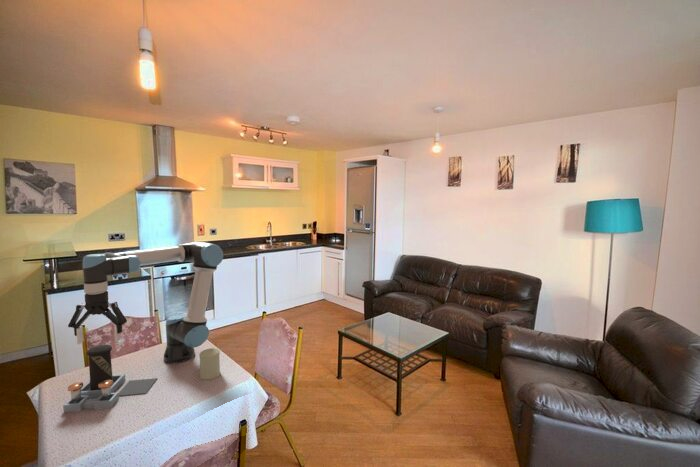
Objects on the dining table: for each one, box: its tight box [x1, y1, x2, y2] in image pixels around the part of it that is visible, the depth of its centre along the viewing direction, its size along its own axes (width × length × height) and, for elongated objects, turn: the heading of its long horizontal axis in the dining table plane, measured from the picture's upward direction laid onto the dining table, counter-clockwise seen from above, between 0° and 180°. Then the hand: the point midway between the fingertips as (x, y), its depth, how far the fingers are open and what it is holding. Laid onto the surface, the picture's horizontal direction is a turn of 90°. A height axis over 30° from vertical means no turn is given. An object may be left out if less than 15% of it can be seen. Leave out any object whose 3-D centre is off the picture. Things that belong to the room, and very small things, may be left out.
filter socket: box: [81, 373, 126, 399], centre depth 142 cm, size 13×13×3 cm
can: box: [199, 347, 221, 381], centre depth 155 cm, size 9×9×12 cm
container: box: [86, 344, 114, 391], centre depth 141 cm, size 9×9×20 cm
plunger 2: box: [98, 380, 114, 400], centre depth 131 cm, size 5×5×6 cm
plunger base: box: [62, 391, 120, 413], centre depth 131 cm, size 17×6×3 cm, turn 101°
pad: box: [118, 377, 158, 397], centre depth 144 cm, size 12×12×1 cm
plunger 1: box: [67, 381, 84, 403], centre depth 129 cm, size 5×5×6 cm
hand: (99, 341), depth 130 cm, fingers open, 13 cm apart
